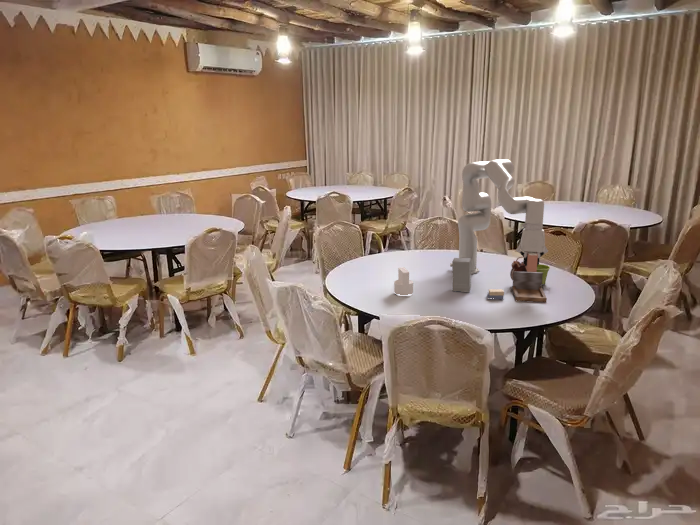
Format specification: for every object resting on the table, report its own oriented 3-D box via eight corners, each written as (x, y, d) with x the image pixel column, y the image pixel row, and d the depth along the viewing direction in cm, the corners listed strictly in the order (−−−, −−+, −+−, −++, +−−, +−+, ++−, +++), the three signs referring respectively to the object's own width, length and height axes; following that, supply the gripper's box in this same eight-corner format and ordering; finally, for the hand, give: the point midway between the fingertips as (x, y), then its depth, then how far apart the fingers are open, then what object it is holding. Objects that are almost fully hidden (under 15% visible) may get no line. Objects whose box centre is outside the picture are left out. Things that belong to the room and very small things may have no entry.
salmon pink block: (527, 271, 229) (528, 254, 227) (525, 266, 238) (526, 249, 236) (536, 272, 228) (537, 254, 226) (534, 266, 237) (535, 249, 235)
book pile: (487, 299, 233) (487, 291, 232) (487, 296, 237) (487, 288, 236) (503, 300, 231) (504, 292, 230) (503, 297, 235) (503, 289, 234)
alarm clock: (528, 283, 254) (530, 254, 250) (533, 286, 249) (535, 257, 245) (508, 285, 252) (510, 256, 248) (513, 288, 248) (515, 258, 244)
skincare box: (470, 289, 248) (472, 257, 244) (469, 293, 242) (470, 261, 237) (453, 287, 251) (454, 256, 247) (451, 292, 244) (452, 260, 240)
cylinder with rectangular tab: (415, 296, 240) (415, 271, 237) (396, 297, 238) (396, 273, 235) (410, 290, 248) (410, 266, 245) (392, 291, 247) (392, 268, 244)
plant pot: (550, 286, 249) (551, 269, 246) (530, 285, 251) (531, 269, 248) (547, 280, 257) (548, 264, 255) (527, 280, 259) (528, 263, 257)
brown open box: (515, 300, 230) (516, 282, 228) (512, 289, 246) (513, 271, 244) (546, 302, 227) (547, 283, 225) (541, 290, 243) (542, 272, 241)
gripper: (515, 227, 226) (512, 267, 231) (554, 228, 223) (551, 268, 227) (513, 224, 233) (511, 263, 238) (552, 225, 230) (548, 264, 234)
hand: (531, 265), depth 233 cm, fingers closed on salmon pink block, 4 cm apart
